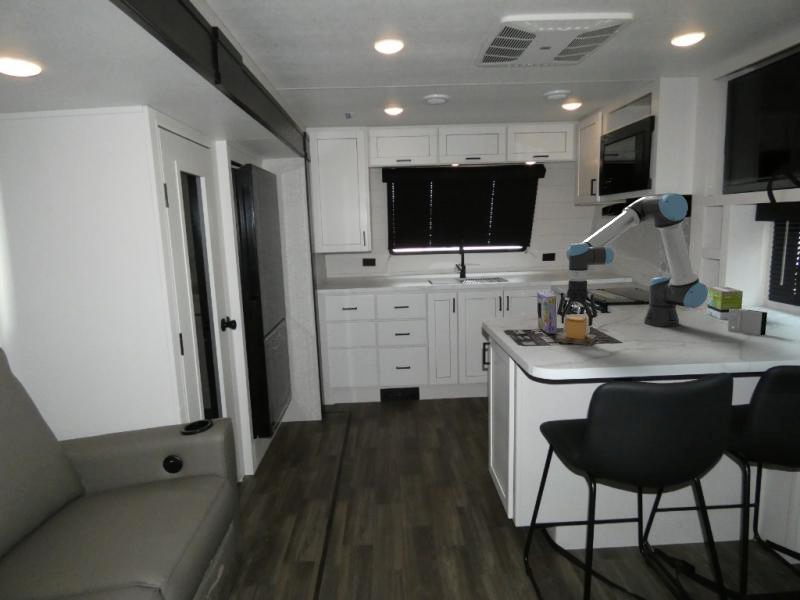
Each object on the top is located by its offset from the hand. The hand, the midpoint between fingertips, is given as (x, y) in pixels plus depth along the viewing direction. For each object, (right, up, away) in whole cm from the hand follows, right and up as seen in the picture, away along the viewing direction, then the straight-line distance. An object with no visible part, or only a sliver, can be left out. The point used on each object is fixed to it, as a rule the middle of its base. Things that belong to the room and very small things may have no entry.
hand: (576, 332), depth 212 cm
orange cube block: (0, -2, 0) cm, 2 cm away
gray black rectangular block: (+78, -1, +7) cm, 78 cm away
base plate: (0, -4, +1) cm, 4 cm away
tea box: (+91, +5, +42) cm, 101 cm away
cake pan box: (-6, -1, +24) cm, 24 cm away
